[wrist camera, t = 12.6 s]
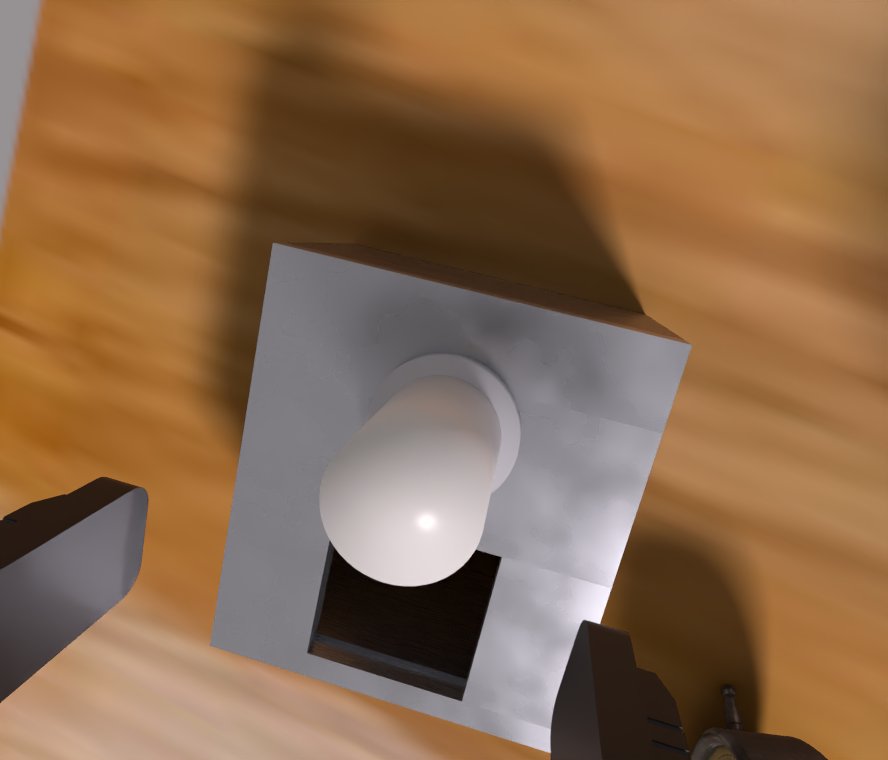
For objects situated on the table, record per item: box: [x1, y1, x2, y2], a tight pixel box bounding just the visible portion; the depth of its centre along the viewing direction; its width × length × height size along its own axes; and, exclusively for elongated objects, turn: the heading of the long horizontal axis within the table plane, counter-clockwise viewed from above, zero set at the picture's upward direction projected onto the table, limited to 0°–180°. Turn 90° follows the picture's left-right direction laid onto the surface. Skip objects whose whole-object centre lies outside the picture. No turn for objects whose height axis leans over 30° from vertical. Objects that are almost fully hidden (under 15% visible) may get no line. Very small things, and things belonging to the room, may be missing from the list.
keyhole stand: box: [210, 243, 692, 753], centre depth 26 cm, size 16×14×9 cm
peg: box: [319, 353, 521, 586], centre depth 20 cm, size 5×5×10 cm
